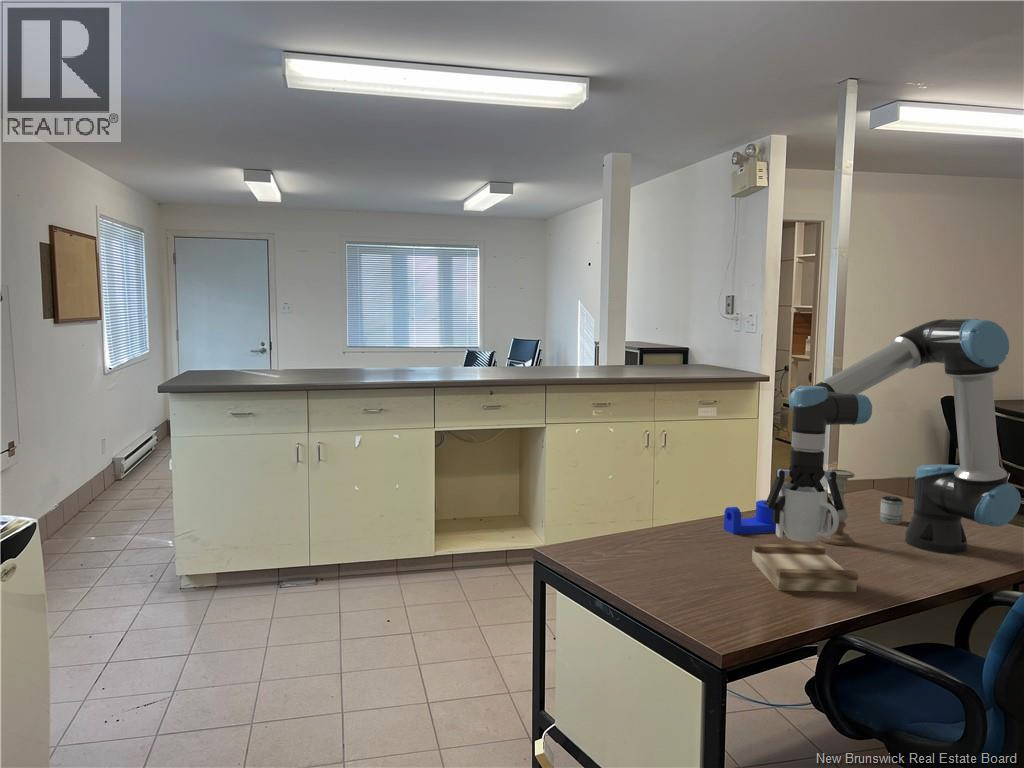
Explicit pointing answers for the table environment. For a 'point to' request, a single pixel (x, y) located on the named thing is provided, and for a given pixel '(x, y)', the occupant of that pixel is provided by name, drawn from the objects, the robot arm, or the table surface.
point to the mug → (806, 513)
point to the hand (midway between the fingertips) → (802, 536)
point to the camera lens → (891, 510)
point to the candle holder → (840, 511)
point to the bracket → (750, 520)
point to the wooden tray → (802, 568)
